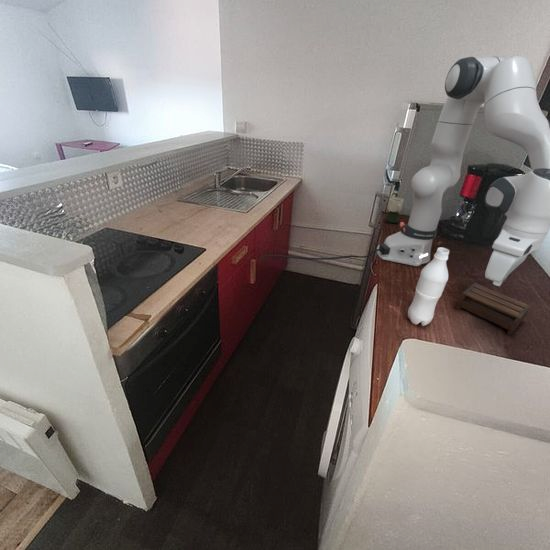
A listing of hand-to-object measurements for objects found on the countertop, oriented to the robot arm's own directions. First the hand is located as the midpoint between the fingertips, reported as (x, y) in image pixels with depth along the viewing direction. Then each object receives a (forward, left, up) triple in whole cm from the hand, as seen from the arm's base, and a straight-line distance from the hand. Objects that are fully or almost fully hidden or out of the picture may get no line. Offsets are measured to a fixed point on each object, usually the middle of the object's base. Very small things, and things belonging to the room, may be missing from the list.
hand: (497, 283), depth 81 cm
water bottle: (-17, 0, -17) cm, 24 cm away
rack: (+6, +8, -17) cm, 20 cm away
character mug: (-15, +87, -17) cm, 90 cm away
